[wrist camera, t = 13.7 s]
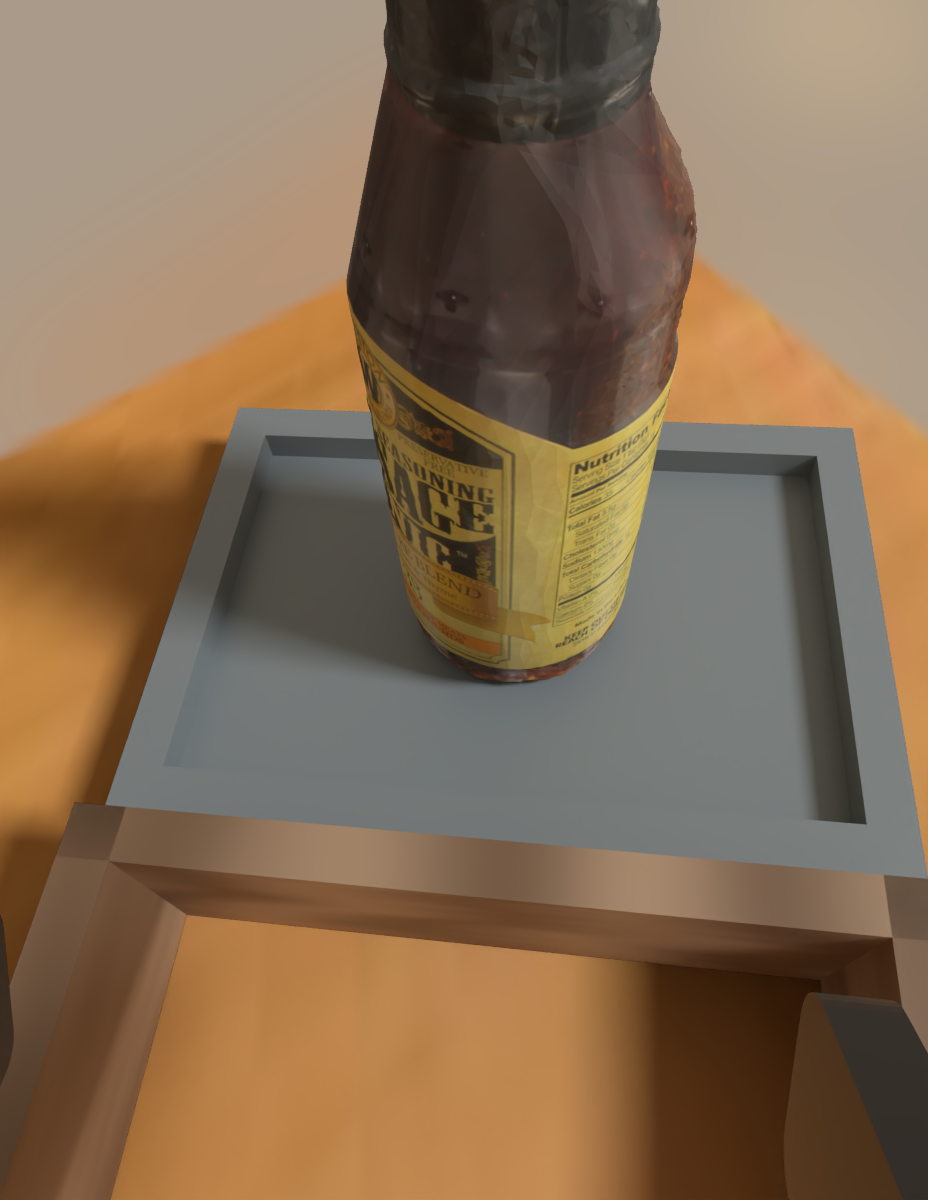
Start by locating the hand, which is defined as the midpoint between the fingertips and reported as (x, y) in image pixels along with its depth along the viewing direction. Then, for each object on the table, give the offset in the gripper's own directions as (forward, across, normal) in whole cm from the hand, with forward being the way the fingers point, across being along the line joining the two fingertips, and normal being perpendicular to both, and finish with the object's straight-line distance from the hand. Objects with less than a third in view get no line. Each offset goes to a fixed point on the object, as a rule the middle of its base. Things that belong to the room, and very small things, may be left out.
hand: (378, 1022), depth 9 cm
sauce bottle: (+18, 0, 0) cm, 18 cm away
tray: (+18, 0, +1) cm, 19 cm away
